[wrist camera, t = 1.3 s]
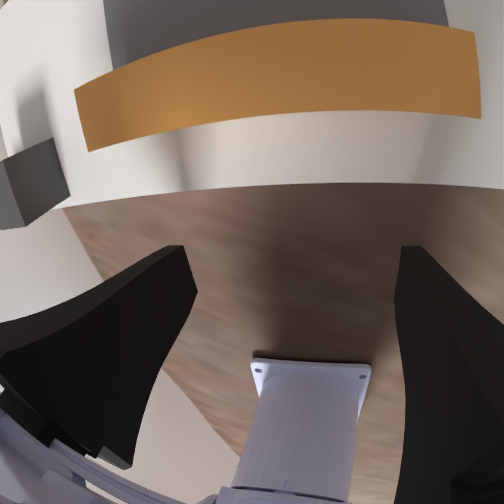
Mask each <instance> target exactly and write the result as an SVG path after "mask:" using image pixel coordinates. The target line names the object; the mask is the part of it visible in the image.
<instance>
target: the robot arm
mask: <svg viewBox="0 0 504 504" xmlns="http://www.w3.org/2000/svg"><path fill="white" fill-rule="evenodd" d="M197 292H198V291H197V288H196V284H195V281H194V278H193V275H192V272H191V269H190V266H189V262H188V259H187V256H186V253H185V249H184V246H183V245H169V246H166V247H164V248H162V249H160V250H158V251H156V252H154V253H152V254H150V255H149V256H147V257H145V258H143V259H142V260H140V261H138V262H137V263H135V264H133V265H132V266H130V267H128V268H127V269H125V270H123V271H122V272H120V273H118V274H116V275H115V276H113V277H111V278H109V279H108V280H106V281H104V282H103V283H101V284H99V285H97V286H96V287H94V288H92V289H90V290H88V291H86V292H85V293H83V294H80V295H78V296H76V297H74V298H72V299H70V300H68V301H66V302H63V303H61V304H58V305H56V306H53V307H51V308H49V309H46V310H44V311H41V312H38V313H35V314H32V315H29V316H26V317H22V318H19V319H16V320H11V321H7V322H2V323H0V384H1V385H2V386H3V388H5V389H4V391H3V392H2V393H1V392H0V504H117V503H115V502H113V501H111V500H109V499H107V498H105V497H103V496H101V495H99V494H97V493H95V492H94V491H92V490H90V489H88V488H87V487H86V482H85V480H87V481H88V482H90V483H92V484H93V485H95V486H97V487H98V488H100V489H102V490H104V491H105V492H107V493H109V494H111V495H113V496H114V497H116V498H118V499H120V500H122V501H124V502H126V503H128V504H185V503H182V502H180V501H177V500H174V499H172V498H169V497H166V496H164V495H161V494H158V493H156V492H154V491H151V490H149V489H147V488H144V487H142V486H140V485H137V484H135V483H133V482H131V481H129V480H127V479H125V478H123V477H121V476H119V475H116V474H115V473H113V472H111V471H109V470H107V469H105V468H103V467H101V466H100V465H98V464H96V463H94V462H92V461H91V460H89V459H87V458H86V457H85V455H86V454H88V455H89V456H91V457H93V458H97V457H99V458H101V459H103V460H105V461H106V462H109V463H110V464H112V465H114V466H116V467H118V468H120V469H123V470H125V469H129V468H131V467H132V464H133V457H134V452H135V447H136V441H137V437H138V433H139V429H140V425H141V422H142V417H143V414H144V411H145V408H146V405H147V402H148V399H149V396H150V393H151V390H152V388H153V385H154V383H155V380H156V378H157V375H158V372H159V370H160V368H161V366H162V364H163V362H164V360H165V358H166V357H167V355H168V353H169V351H170V349H171V347H172V346H173V344H174V342H175V340H176V338H177V337H178V335H179V333H180V331H181V329H182V327H183V326H184V324H185V322H186V320H187V318H188V316H189V314H190V311H191V309H192V306H193V304H194V301H195V298H196V295H197ZM394 303H395V318H396V328H397V334H398V340H399V347H400V353H401V360H402V367H403V374H404V382H405V395H406V407H405V431H404V443H403V453H402V461H401V468H400V475H399V481H398V486H397V491H396V495H395V500H394V504H504V325H503V324H502V323H501V322H500V321H499V320H498V319H496V318H495V317H494V316H493V315H492V314H490V313H489V312H488V311H487V310H486V309H485V308H484V307H482V306H481V305H480V304H479V303H478V302H477V301H476V300H475V299H474V298H473V297H472V296H471V295H470V294H469V293H468V292H467V291H465V290H464V289H463V288H462V287H461V286H460V285H459V284H458V283H457V282H456V281H455V280H454V279H453V278H452V277H451V276H450V275H449V274H448V273H447V272H446V271H445V270H444V269H443V267H442V266H441V265H440V264H439V263H438V262H437V261H436V260H435V259H434V258H433V257H432V256H431V255H430V254H429V253H428V252H427V251H426V250H424V249H423V248H422V247H421V246H402V249H401V257H400V264H399V271H398V278H397V284H396V290H395V296H394ZM250 366H251V370H252V373H253V377H254V381H255V384H256V388H257V392H258V395H259V400H258V404H257V407H256V410H255V414H254V417H253V420H252V423H251V427H250V430H249V433H248V436H247V439H246V442H245V445H244V449H243V452H242V455H241V458H240V461H239V464H238V467H237V470H236V473H235V476H234V479H233V482H232V484H231V487H230V488H228V487H224V486H222V487H221V489H220V492H219V495H217V494H213V495H210V496H208V497H207V498H205V499H203V500H201V501H199V502H198V503H197V504H352V503H347V502H348V496H349V489H350V483H351V476H352V468H353V461H354V452H355V443H356V432H357V421H358V418H359V415H360V411H361V408H362V405H363V401H364V398H365V394H366V390H367V387H368V383H369V379H370V375H371V366H370V365H368V364H343V363H318V362H301V361H287V360H275V359H264V358H253V359H252V360H251V363H250Z"/></svg>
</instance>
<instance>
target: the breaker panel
mask: <svg viewBox="0 0 504 504" xmlns="http://www.w3.org/2000/svg"><path fill="white" fill-rule="evenodd" d="M348 18H360V19H388V20H401V21H411V22H420V23H428V24H434V25H441V26H446V27H452V28H457V29H462V30H466V31H471V32H474V35H475V41H476V48H477V56H478V65H479V75H480V90H481V119H475V118H468V117H461V116H452V115H443V114H433V113H421V112H405V111H375V110H348V111H318V112H301V113H288V114H276V115H266V116H257V117H249V118H241V119H234V120H227V121H221V122H215V123H209V124H203V125H197V126H192V127H187V128H182V129H177V130H172V131H167V132H163V133H158V134H154V135H150V136H145V137H141V138H137V139H133V140H130V141H126V142H122V143H118V144H115V145H111V146H108V147H105V148H101V149H98V150H95V151H91V152H88V150H87V146H86V142H85V138H84V135H83V131H82V126H81V122H80V118H79V114H78V109H77V104H76V100H75V95H74V89H76V88H78V87H80V86H81V85H83V84H85V83H87V82H89V81H91V80H93V79H95V78H97V77H100V76H102V75H104V74H106V73H108V72H110V71H113V70H115V69H117V68H119V67H122V66H124V65H127V64H129V63H131V62H134V61H136V60H139V59H142V58H144V57H147V56H149V55H152V54H155V53H158V52H161V51H164V50H167V49H170V48H173V47H176V46H179V45H182V44H185V43H189V42H192V41H196V40H199V39H203V38H207V37H211V36H215V35H219V34H223V33H228V32H232V31H237V30H242V29H247V28H253V27H259V26H265V25H271V24H279V23H287V22H296V21H306V20H320V19H348ZM0 124H1V129H2V133H3V138H4V142H5V146H6V150H7V153H8V157H10V156H12V155H14V154H16V153H19V152H21V151H23V150H25V149H27V148H29V147H32V146H34V145H36V144H38V143H41V142H43V141H46V140H48V139H50V138H54V142H55V146H56V149H57V153H58V157H59V160H60V164H61V167H62V170H63V173H64V177H65V180H66V183H67V186H68V189H69V192H70V195H71V196H70V197H69V198H67V199H66V200H64V201H62V202H61V203H59V204H58V205H56V206H55V207H53V208H52V209H57V208H63V207H68V206H74V205H81V204H87V203H93V202H100V201H107V200H114V199H121V198H129V197H137V196H145V195H153V194H162V193H171V192H181V191H191V190H203V189H214V188H227V187H242V186H258V185H277V184H302V183H416V184H440V185H457V186H472V187H485V188H496V189H504V0H9V1H8V2H7V3H6V4H5V5H4V6H3V7H2V8H1V10H0ZM50 210H51V209H50Z"/></svg>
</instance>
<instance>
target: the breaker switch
mask: <svg viewBox="0 0 504 504" xmlns="http://www.w3.org/2000/svg"><path fill="white" fill-rule="evenodd" d="M74 95H75V100H76V104H77V109H78V114H79V118H80V122H81V126H82V131H83V135H84V138H85V142H86V146H87V150H88V152H91V151H95V150H98V149H101V148H105V147H108V146H111V145H115V144H118V143H122V142H126V141H130V140H133V139H137V138H141V137H145V136H150V135H154V134H158V133H163V132H167V131H172V130H177V129H182V128H187V127H192V126H197V125H203V124H209V123H215V122H221V121H227V120H234V119H241V118H249V117H257V116H266V115H276V114H288V113H301V112H318V111H348V110H375V111H405V112H421V113H433V114H443V115H452V116H461V117H468V118H475V119H481V90H480V75H479V65H478V56H477V48H476V41H475V35H474V32H471V31H466V30H462V29H457V28H452V27H446V26H441V25H434V24H428V23H420V22H411V21H401V20H388V19H360V18H348V19H320V20H306V21H296V22H287V23H279V24H271V25H265V26H259V27H253V28H247V29H242V30H237V31H232V32H228V33H223V34H219V35H215V36H211V37H207V38H203V39H199V40H196V41H192V42H189V43H185V44H182V45H179V46H176V47H173V48H170V49H167V50H164V51H161V52H158V53H155V54H152V55H149V56H147V57H144V58H142V59H139V60H136V61H134V62H131V63H129V64H127V65H124V66H122V67H119V68H117V69H115V70H113V71H110V72H108V73H106V74H104V75H102V76H100V77H97V78H95V79H93V80H91V81H89V82H87V83H85V84H83V85H81V86H80V87H78V88H76V89H74Z"/></svg>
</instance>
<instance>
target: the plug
mask: <svg viewBox="0 0 504 504" xmlns="http://www.w3.org/2000/svg"><path fill="white" fill-rule="evenodd" d="M70 196H71V195H70V192H69V189H68V186H67V183H66V180H65V177H64V173H63V170H62V167H61V164H60V160H59V157H58V153H57V149H56V146H55V142H54V138H50V139H48V140H46V141H43V142H41V143H38V144H36V145H34V146H32V147H29V148H27V149H25V150H23V151H21V152H19V153H16V154H14V155H12V156H10V157H8V158H6V159H4V160H3V161H1V162H0V229H1V230H5V229H12V228H19V227H26V226H28V225H29V224H30V223H32V222H33V221H34V220H36V219H37V218H38V217H40V216H42V215H43V214H44V213H46V212H47V211H49V210H50V209H52V208H53V207H55V206H56V205H58V204H59V203H61V202H62V201H64V200H66V199H67V198H69V197H70Z"/></svg>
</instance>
